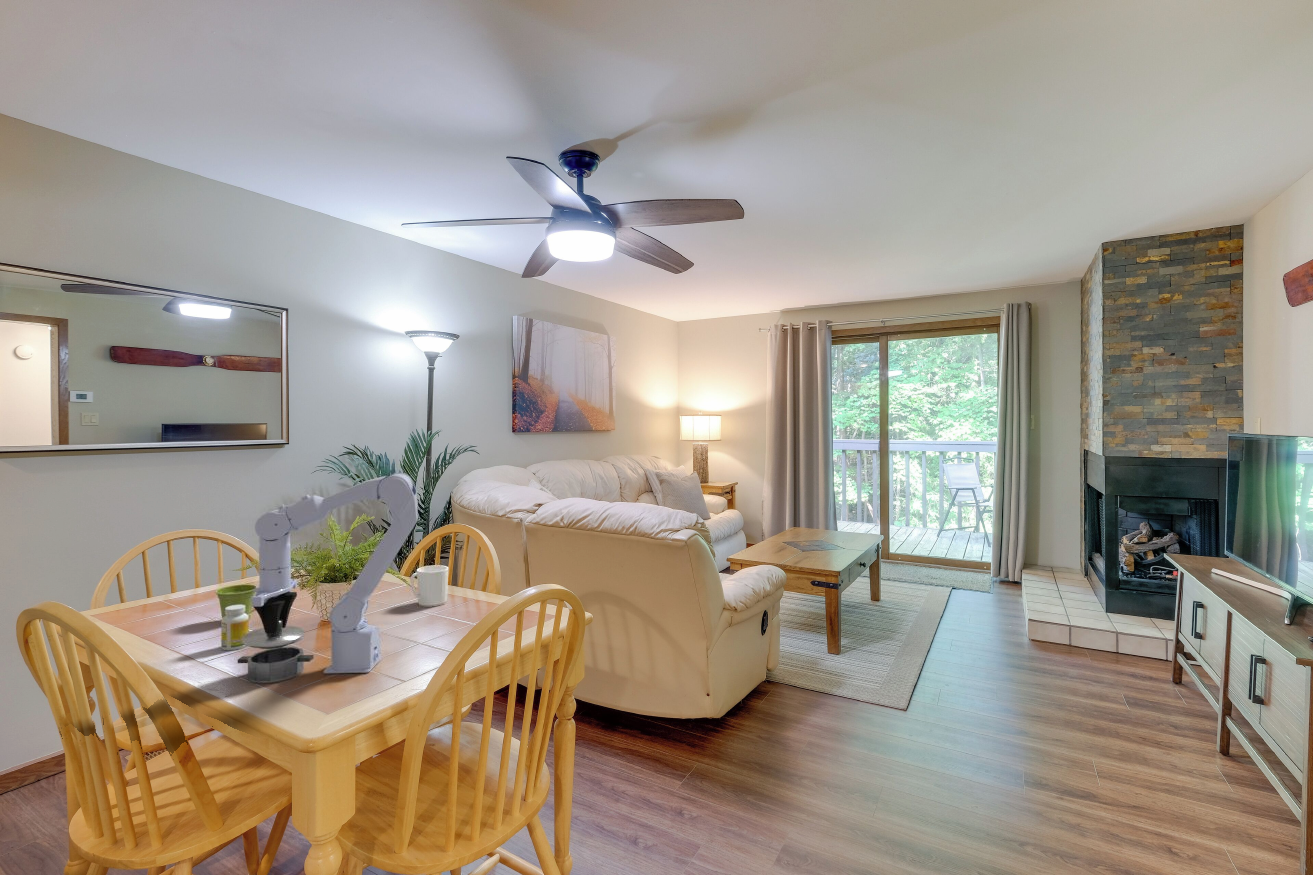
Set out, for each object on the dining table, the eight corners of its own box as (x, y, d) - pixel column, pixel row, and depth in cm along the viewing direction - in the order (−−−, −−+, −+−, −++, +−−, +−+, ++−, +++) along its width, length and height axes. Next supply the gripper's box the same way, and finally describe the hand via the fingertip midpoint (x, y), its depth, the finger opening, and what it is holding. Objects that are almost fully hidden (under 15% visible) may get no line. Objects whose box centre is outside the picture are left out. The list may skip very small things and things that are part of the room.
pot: (322, 663, 137) (322, 645, 137) (300, 682, 127) (300, 663, 127) (253, 665, 136) (253, 647, 135) (225, 684, 126) (225, 665, 126)
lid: (314, 635, 137) (315, 614, 137) (283, 654, 125) (285, 631, 125) (264, 632, 137) (265, 610, 137) (229, 650, 126) (230, 627, 125)
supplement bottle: (216, 651, 144) (216, 610, 143) (229, 642, 149) (229, 603, 149) (240, 650, 144) (240, 610, 144) (253, 642, 150) (253, 603, 149)
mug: (441, 597, 190) (441, 563, 189) (453, 603, 183) (453, 569, 183) (404, 603, 182) (404, 569, 182) (416, 610, 176) (416, 575, 175)
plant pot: (261, 613, 172) (261, 583, 171) (251, 624, 163) (251, 592, 162) (222, 616, 169) (222, 585, 168) (209, 627, 160) (209, 594, 159)
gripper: (274, 559, 138) (274, 619, 138) (234, 575, 123) (235, 642, 124) (306, 559, 138) (307, 618, 139) (271, 575, 124) (272, 641, 124)
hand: (275, 630), depth 131 cm, fingers closed on lid, 3 cm apart
